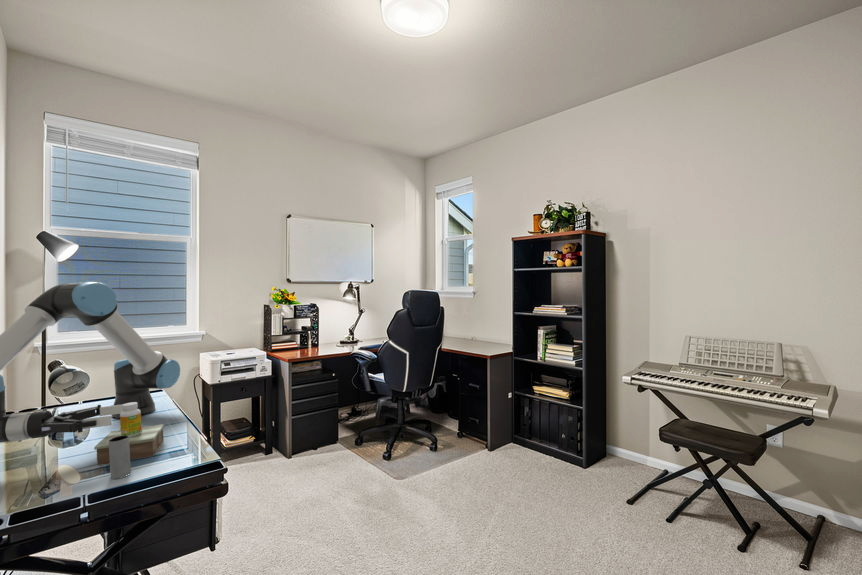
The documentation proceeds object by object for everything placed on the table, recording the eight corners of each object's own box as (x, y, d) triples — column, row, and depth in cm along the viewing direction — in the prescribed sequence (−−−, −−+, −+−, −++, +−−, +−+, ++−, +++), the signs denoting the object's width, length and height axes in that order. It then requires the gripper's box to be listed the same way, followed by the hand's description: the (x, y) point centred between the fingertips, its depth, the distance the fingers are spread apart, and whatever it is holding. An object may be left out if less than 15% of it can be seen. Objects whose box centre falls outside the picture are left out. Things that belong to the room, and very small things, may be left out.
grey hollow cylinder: (128, 477, 118) (125, 439, 117) (108, 480, 116) (105, 442, 116) (133, 470, 122) (131, 434, 122) (114, 473, 120) (111, 436, 120)
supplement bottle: (129, 438, 133) (127, 406, 132) (116, 437, 134) (114, 405, 134) (145, 432, 138) (144, 401, 137) (134, 431, 139) (132, 401, 139)
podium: (112, 448, 140) (111, 431, 140) (165, 440, 146) (164, 424, 145) (95, 466, 126) (94, 446, 126) (154, 456, 132) (153, 438, 132)
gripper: (51, 425, 139) (130, 415, 146) (8, 453, 115) (104, 439, 123) (50, 402, 138) (128, 393, 146) (7, 424, 115) (103, 412, 123)
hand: (118, 414), depth 134 cm, fingers open, 13 cm apart
